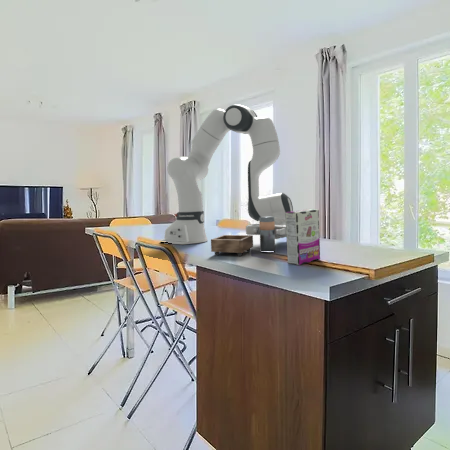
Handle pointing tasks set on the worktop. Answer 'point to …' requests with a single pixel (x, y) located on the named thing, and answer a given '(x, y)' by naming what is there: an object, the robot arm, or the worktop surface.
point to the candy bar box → (302, 236)
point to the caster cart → (232, 244)
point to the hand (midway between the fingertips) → (266, 232)
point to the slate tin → (267, 233)
